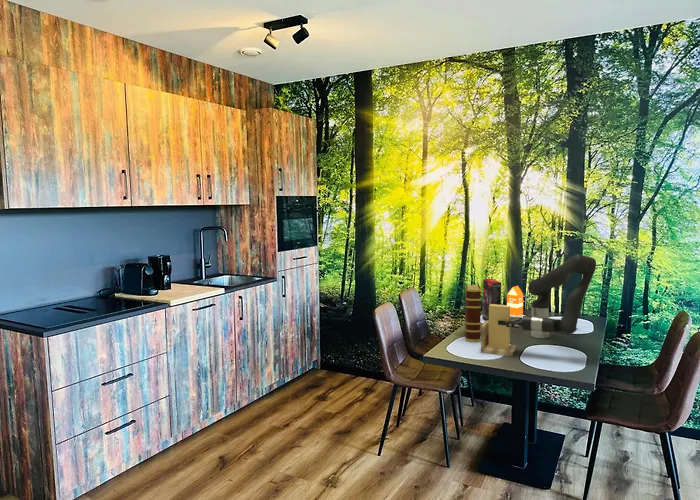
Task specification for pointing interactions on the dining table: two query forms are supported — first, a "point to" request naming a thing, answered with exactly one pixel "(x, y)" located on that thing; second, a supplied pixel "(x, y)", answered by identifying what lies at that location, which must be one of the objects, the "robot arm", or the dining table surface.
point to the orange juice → (515, 301)
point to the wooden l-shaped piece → (492, 350)
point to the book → (499, 326)
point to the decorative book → (472, 312)
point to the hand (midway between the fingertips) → (499, 320)
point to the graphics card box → (490, 295)
